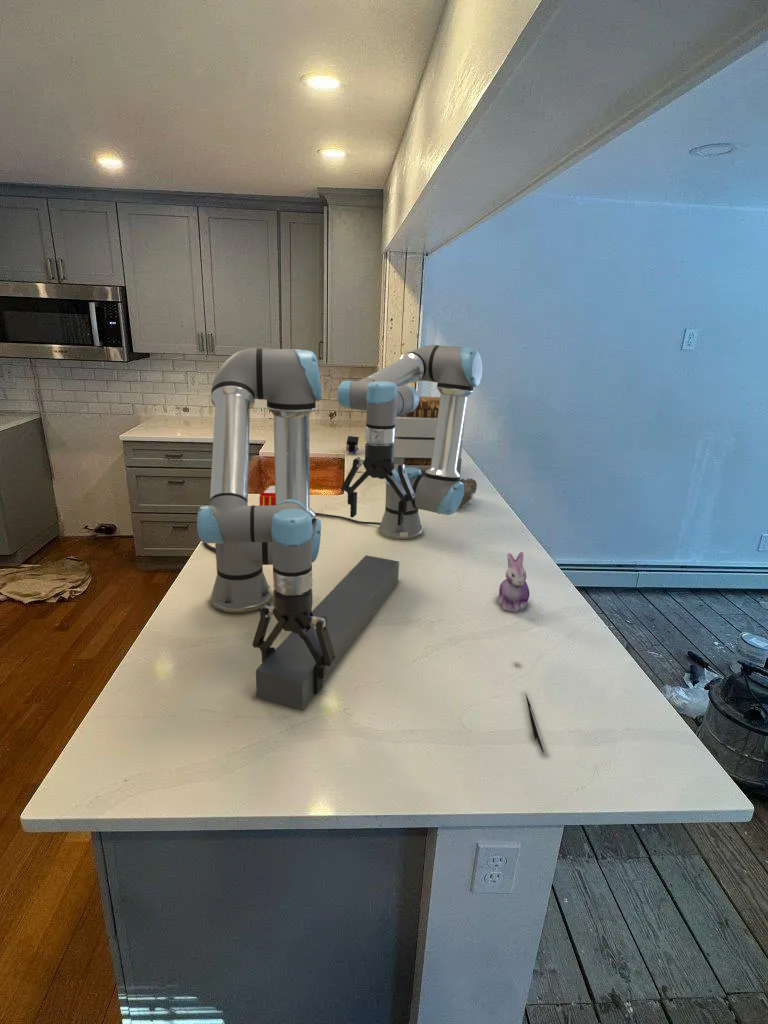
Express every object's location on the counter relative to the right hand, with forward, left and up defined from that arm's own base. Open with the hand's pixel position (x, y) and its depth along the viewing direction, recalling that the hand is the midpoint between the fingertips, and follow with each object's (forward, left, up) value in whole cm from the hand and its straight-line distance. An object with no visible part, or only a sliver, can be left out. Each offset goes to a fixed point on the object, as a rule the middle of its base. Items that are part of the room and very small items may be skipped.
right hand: (376, 519), depth 154 cm
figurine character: (-129, +92, -21) cm, 160 cm away
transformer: (-79, +94, -21) cm, 124 cm away
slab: (+12, -21, -21) cm, 32 cm away
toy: (-63, +7, -21) cm, 67 cm away
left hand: (+24, -41, -20) cm, 52 cm away
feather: (+58, -7, -21) cm, 62 cm away
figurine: (+30, +25, -21) cm, 44 cm away
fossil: (-37, +77, -21) cm, 88 cm away
